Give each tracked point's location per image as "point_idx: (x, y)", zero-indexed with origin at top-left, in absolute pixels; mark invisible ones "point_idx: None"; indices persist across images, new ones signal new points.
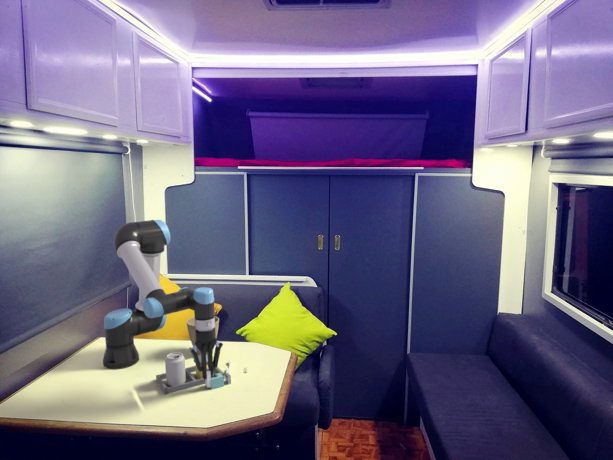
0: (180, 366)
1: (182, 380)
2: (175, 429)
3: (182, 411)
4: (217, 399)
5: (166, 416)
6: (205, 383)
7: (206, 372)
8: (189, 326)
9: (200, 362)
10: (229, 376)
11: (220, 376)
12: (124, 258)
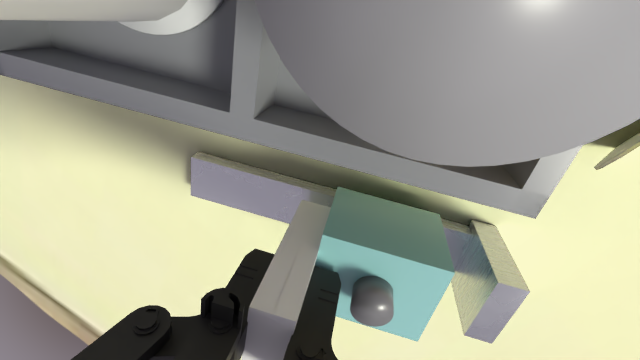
0: None
1: (140, 17)
2: (76, 331)
3: (119, 265)
4: None
5: (49, 245)
6: (297, 212)
7: (246, 342)
8: None
9: (308, 89)
10: (478, 336)
11: (399, 323)
12: None
